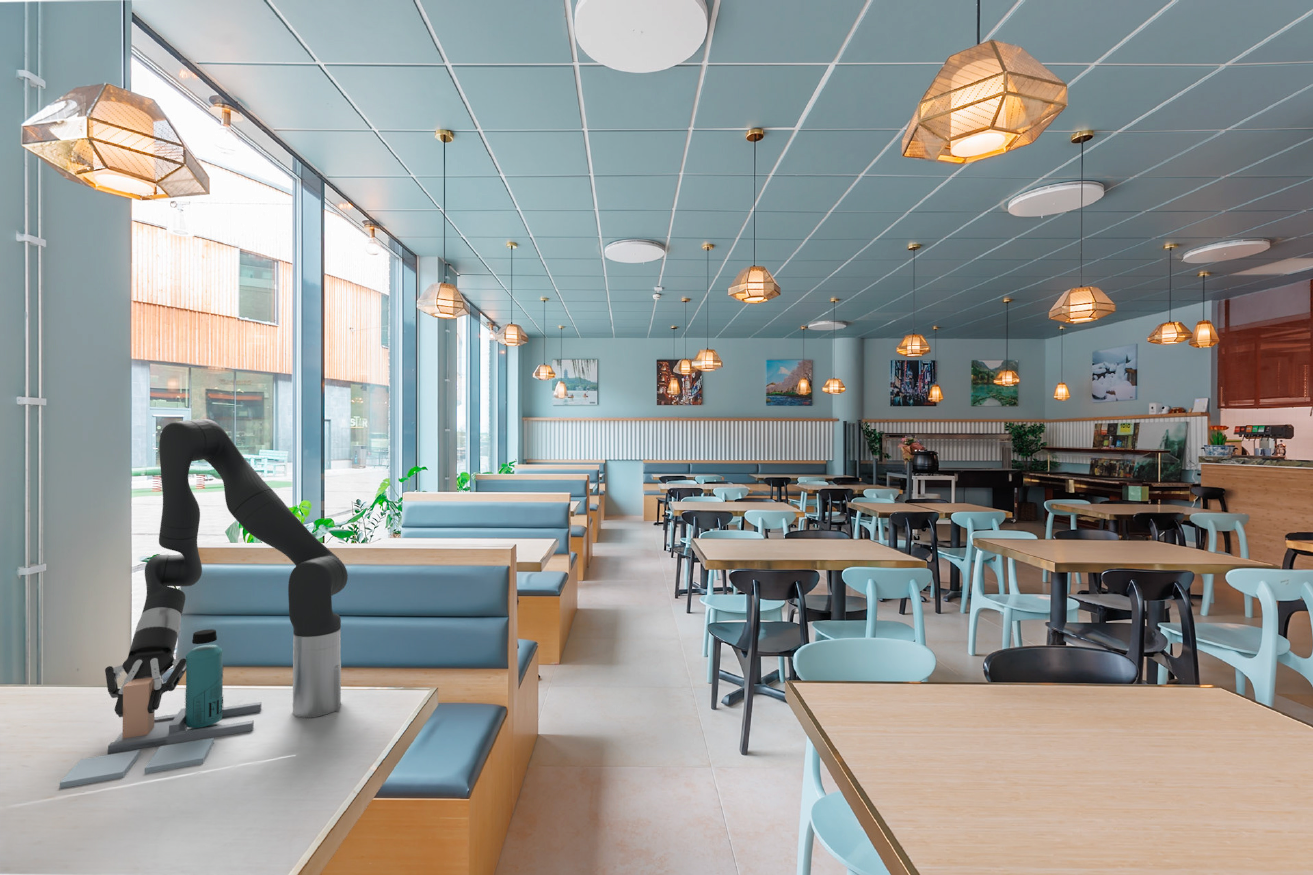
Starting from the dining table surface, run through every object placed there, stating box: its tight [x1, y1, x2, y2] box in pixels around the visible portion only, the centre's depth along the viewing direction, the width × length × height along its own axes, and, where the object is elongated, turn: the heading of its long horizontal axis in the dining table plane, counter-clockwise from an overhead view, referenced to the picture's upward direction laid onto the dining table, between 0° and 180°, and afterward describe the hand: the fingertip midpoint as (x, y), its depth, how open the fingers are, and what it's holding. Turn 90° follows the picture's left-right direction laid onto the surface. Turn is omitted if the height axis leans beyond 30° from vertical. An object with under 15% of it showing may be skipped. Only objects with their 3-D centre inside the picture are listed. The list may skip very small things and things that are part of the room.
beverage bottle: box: [185, 628, 224, 729], centre depth 130 cm, size 6×7×20 cm
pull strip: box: [107, 677, 262, 755], centre depth 128 cm, size 23×12×11 cm, turn 115°
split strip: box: [59, 737, 215, 789], centre depth 114 cm, size 20×9×1 cm, turn 115°
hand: (135, 712), depth 123 cm, fingers closed on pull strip, 4 cm apart
